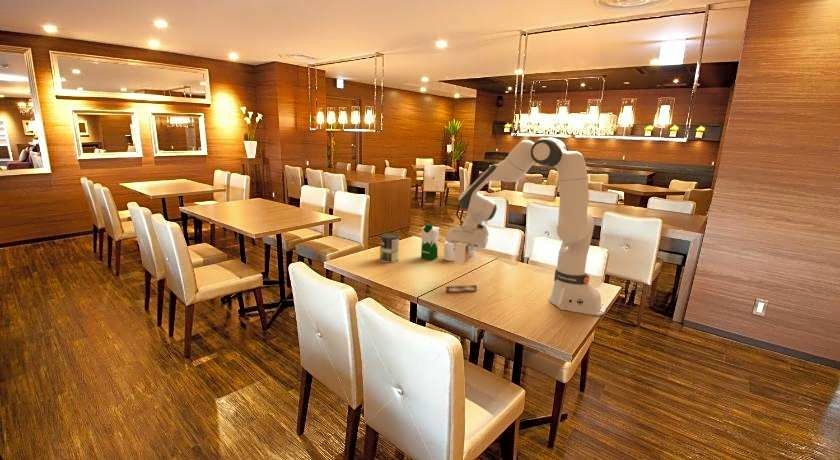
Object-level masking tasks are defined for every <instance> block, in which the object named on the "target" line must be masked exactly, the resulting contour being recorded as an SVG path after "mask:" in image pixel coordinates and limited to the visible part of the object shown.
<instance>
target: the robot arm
mask: <svg viewBox="0 0 840 460" xmlns="http://www.w3.org/2000/svg"><path fill="white" fill-rule="evenodd" d="M534 164H539V165H541V166H546V167H550V168H552V167H554V168H555V169H556V171H557V181H558V193H559V206H558V207H559V208H558V218H557V219H558V221H557V226H556V233H557V236H558V238H559V239H560V240H561V245H560V248H559V250H558V257H557V263H556V264H557V265H556V269H555V271H554V277H553V278H554V279H553V280H554V284H553V288H552V291H551V293H550V296H549V299H548V300H549V302H550V303H551V304H553V305H554V306H556V307H557V308H558V309H559V310H562V311H566V310H567V311H568V312H573V313H577V314H585V315H591V316H597V317H600V316H603V315H604V314H605V313H606V311H607V306H606V304H605V303H604V302H602V297H601V294H600V291H599V290H598V289H597V288H596V287H594V286H593V285H592V284H591V283H590V273H588V274H587V273H586V272H585V271H586V267H587V266H586V265H587V260H588V254H589V249H590V245H591V242H592V238H593V232H594V228H595V219H594V217H593V216H592V215H591V214H590V213H589V212H588V206H589V198H590V194H589V192H590V191H589V179H588V178H589V177H588V170H587V165H586V160H585V158H584V156H583V154H582V153H580V152H579V151H576V150H575V151H572V150H571V151H569V148H568V144H566V142H565V141H563V140H562V139H560V138H555V137H544V138H543V137H542V138H539V139H538V140H536V141H535V142H533V141H532V140H529V139H524V140H520V142H518V143H517V144H516V145H515V146H514V147H513V148H512V150H511V151H510V152H509V153H508V155H507V156H506V157H505V158H504V159H503V160H502V161H501V162H498V163H493V164H491V165H489V166H488V168H486V169H485V170H484V171H483V172H482V173H481V174H480V175H479V176H477V178H476V179H475V180H474V181H473V182H472V183H471V184H470V185H469V186H467V188H465V189H464V190H463V191H462V192H461V193H460V194H459V197H458V200H457V201H458V205H459V207H460V208H461V209H462V210H465V211H467V212H466V217H464V219H463V223H462V224H461V226H459V225H458V226H457V225H453V226H451V227H450V228H449V230H448V232H447V234H445V235H446V236H445V240H446V241H447V242H448V243H453V244H454V249H453V251H455V244H456V243H458V242H463V243H469V246H471V247H470V248H469V249H467V251H466V254H470V252H471V251H472V250H473V249H474V248H475V247H476V248H477V249H485V248H487V244H488V242H489V241H488V240H489V238H488V237H489V230H488V228H487V227H486V226H485V224H484V225H483V222H488V221H490V220H492V219H493V218H494V217H495V215H496V213H497V211H498V209H497V203H496V202H495V201H494V200H492V199H490V198H488V197H486V196H484V195H483V194H482V193H480V192H479V191H480V190H481V189H482V188H484V186H485V185H487V184H488V183H489V182H491V181H499V182H505V183H515V182H517V181H520V180H521V179H523V178H524V176H525V175H526V174H527V173H528V171H529V170H530V168H531V167H532V166H533V165H534Z"/></svg>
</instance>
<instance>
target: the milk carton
mask: <svg viewBox="0 0 840 460" xmlns="http://www.w3.org/2000/svg"><path fill="white" fill-rule="evenodd" d="M420 230H421V250H420V259H422V258H423V259H424V260H426V261H427V260H429V261H434V260H436V259H437V258H438V257H439V256H438V255H439V253H438V250H439V249H438V247H439V233H440V232H439V231H440V227H439V226H433V224H432V223H425V226H423V227H421V229H420Z"/></svg>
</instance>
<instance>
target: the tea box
mask: <svg viewBox="0 0 840 460" xmlns="http://www.w3.org/2000/svg"><path fill="white" fill-rule="evenodd" d="M467 249H469V243H463V242H458V243H456V244H455V261H454V265H458V266H462V267H464V266H466V265H468V264H469V256H468V254H466V251H467Z"/></svg>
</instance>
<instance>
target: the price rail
mask: <svg viewBox="0 0 840 460" xmlns="http://www.w3.org/2000/svg"><path fill="white" fill-rule="evenodd" d="M477 287H478V286H477V284H468V285H467V284H465V285H464V284H463V285H449V286H445V292H446V293H447V294H448V293H462V292H463V293H464V292H466V293H468V292H477V291H478V290H477Z"/></svg>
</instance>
